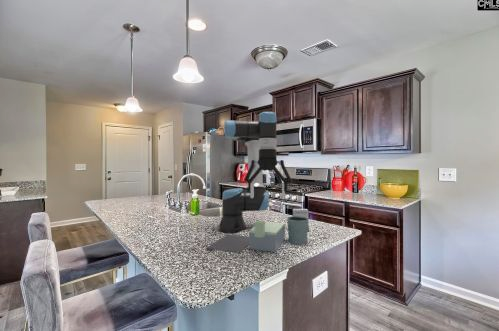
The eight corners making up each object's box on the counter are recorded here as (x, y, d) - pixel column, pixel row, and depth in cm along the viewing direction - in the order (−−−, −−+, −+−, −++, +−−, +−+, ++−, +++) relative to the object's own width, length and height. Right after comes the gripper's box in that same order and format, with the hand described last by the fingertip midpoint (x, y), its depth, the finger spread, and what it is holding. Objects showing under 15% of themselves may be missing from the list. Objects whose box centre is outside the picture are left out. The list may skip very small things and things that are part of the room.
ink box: (307, 228, 145) (307, 208, 145) (308, 231, 141) (308, 210, 140) (292, 228, 146) (292, 208, 146) (293, 230, 141) (293, 209, 141)
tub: (249, 250, 110) (249, 232, 109) (261, 238, 126) (261, 223, 126) (275, 254, 105) (275, 235, 105) (284, 241, 122) (284, 225, 122)
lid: (245, 237, 105) (245, 221, 105) (261, 224, 126) (261, 211, 126) (272, 240, 101) (272, 223, 101) (284, 226, 122) (284, 212, 122)
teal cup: (295, 247, 113) (295, 221, 113) (282, 241, 122) (282, 217, 122) (312, 244, 118) (312, 219, 118) (299, 238, 127) (299, 215, 127)
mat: (206, 250, 110) (206, 247, 110) (227, 236, 131) (227, 234, 131) (239, 254, 105) (239, 252, 105) (256, 239, 125) (256, 237, 125)
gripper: (237, 148, 106) (237, 198, 106) (296, 147, 100) (296, 200, 100) (242, 149, 113) (242, 196, 114) (297, 148, 107) (297, 198, 107)
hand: (267, 198), depth 107 cm, fingers open, 13 cm apart
